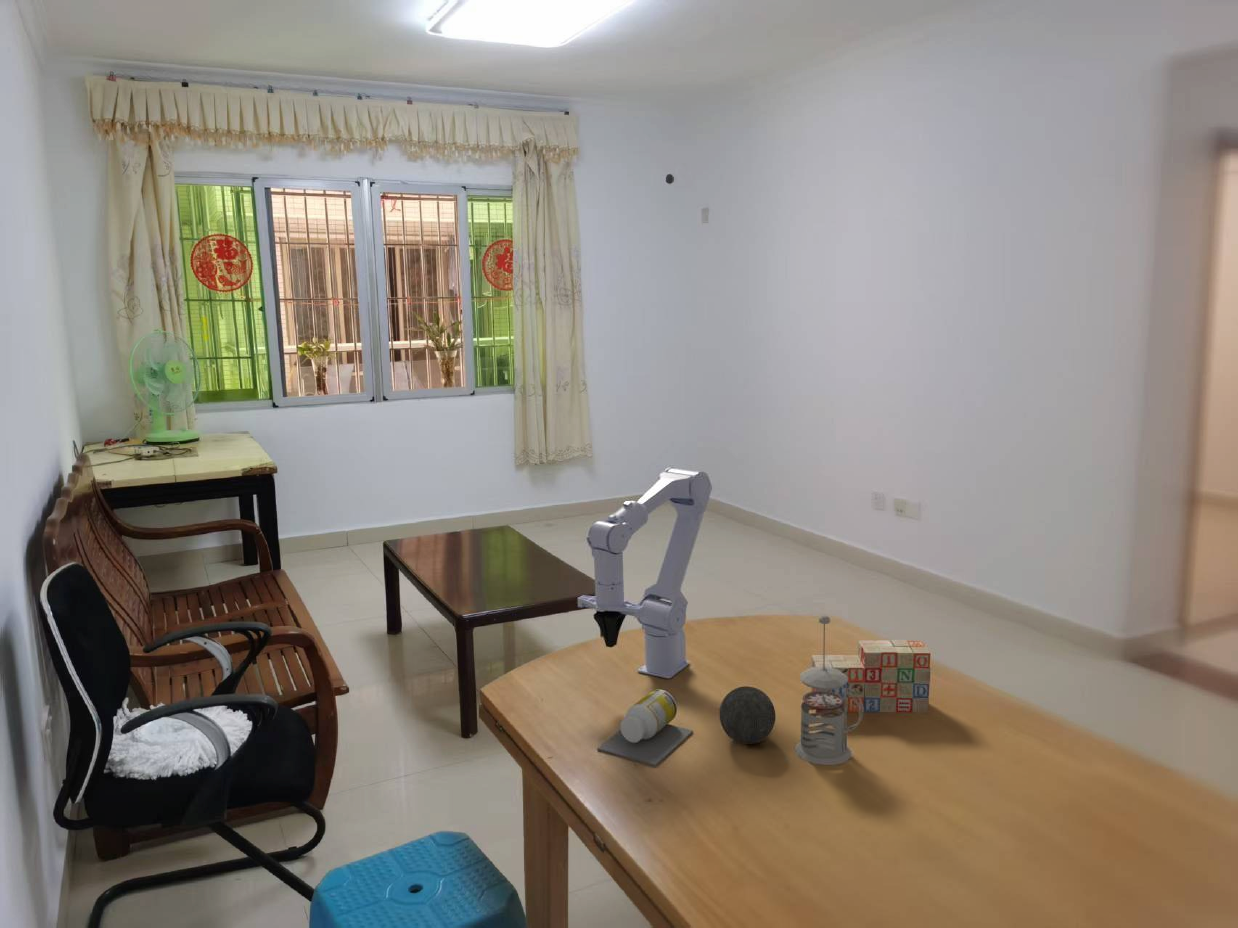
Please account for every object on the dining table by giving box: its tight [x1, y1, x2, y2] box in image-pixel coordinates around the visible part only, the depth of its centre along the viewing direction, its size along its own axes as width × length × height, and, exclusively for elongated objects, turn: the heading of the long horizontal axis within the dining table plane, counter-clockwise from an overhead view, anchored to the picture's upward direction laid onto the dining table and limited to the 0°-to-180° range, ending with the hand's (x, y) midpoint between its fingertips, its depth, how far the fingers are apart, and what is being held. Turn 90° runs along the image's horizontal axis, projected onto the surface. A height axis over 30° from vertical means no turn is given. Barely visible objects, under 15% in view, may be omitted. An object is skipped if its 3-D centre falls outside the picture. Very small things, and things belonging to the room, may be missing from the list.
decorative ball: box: [718, 685, 777, 745], centre depth 160 cm, size 10×10×10 cm
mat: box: [596, 723, 694, 768], centre depth 162 cm, size 14×12×1 cm
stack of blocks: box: [810, 639, 931, 713], centre depth 172 cm, size 21×6×12 cm, turn 86°
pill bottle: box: [619, 689, 678, 742], centre depth 163 cm, size 6×6×12 cm
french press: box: [794, 614, 864, 766], centre depth 154 cm, size 10×12×25 cm
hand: (611, 645), depth 180 cm, fingers closed
